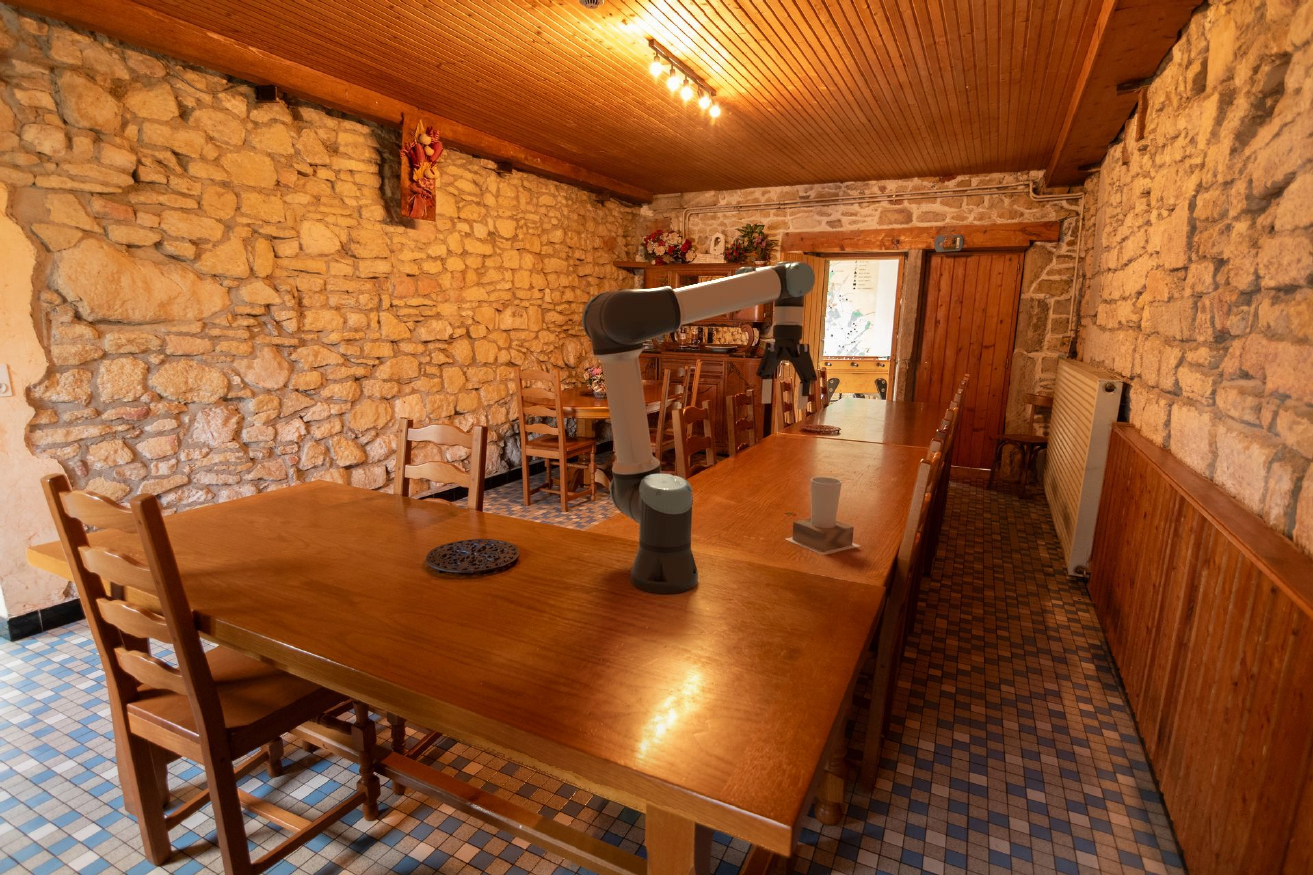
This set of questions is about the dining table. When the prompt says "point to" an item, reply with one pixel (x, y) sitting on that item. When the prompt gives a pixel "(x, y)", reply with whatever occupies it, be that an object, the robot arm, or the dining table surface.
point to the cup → (824, 501)
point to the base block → (822, 535)
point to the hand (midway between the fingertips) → (783, 406)
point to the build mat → (825, 551)
